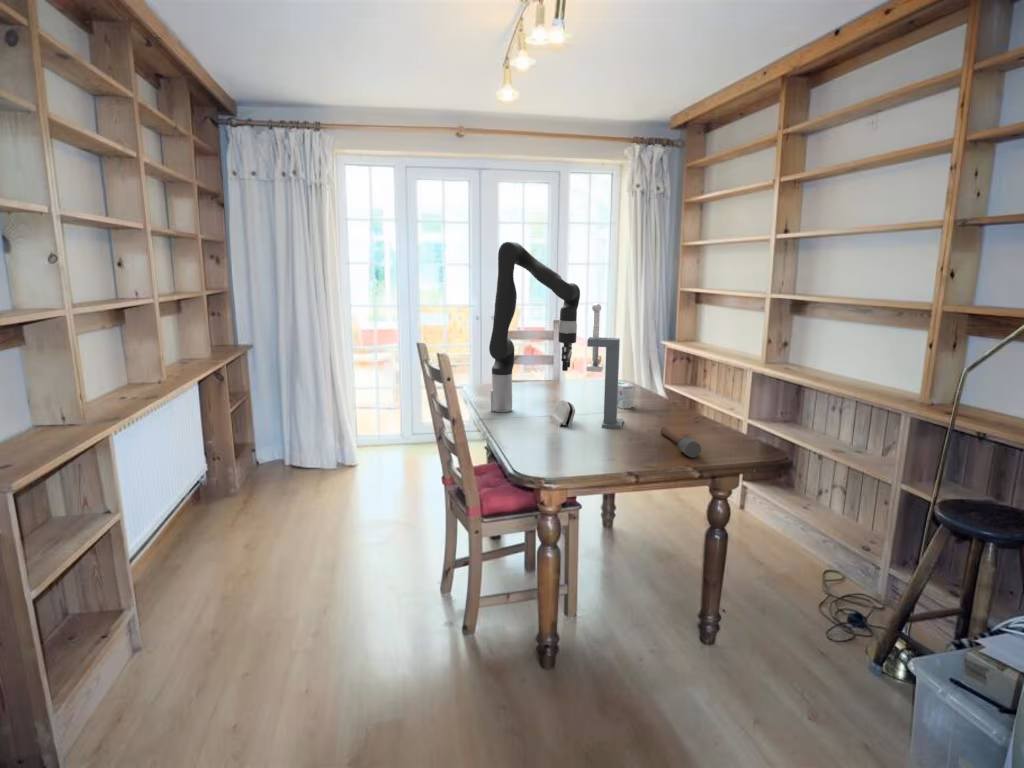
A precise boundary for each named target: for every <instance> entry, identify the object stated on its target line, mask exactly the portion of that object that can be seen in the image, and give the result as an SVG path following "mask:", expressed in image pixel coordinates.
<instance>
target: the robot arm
mask: <svg viewBox="0 0 1024 768" xmlns="http://www.w3.org/2000/svg"><path fill="white" fill-rule="evenodd" d="M515 265H517V266H519V267H521V268H522V269H525V270H526V271H527V272H529V273H530V274H531V275H532V276H533V277H534V278H535V280H537V281H538V282H539V283H541V284H542V285H543V286H545V287H546V288H548V289H550V290H551V291H552V292H553V293H554V294H555V296H556V297H558V298H559V299H560V300H563V305H562V307H561V308H560V310H559V323H558V340H557V341H558V342H559V343H561V344H563V346H562V347H561V358H560V359H561V362H562V367H561V368H562V369H561V370H562V371H563V372H567V371H568V368H570V367H571V359H572V354H573V352H572V351H573V346H572V345H573V344H576V343H577V330H578V329H577V328H578V325H577V320H578V319H577V318H578V317H577V316H578V307H579V303H580V297H581V290H580V287H579V285H577V284H576V283H573V282H571V283H569V282H567V281H565V280H564V279H563V278H562V276H561V275H560V274H558V273H557V272H556V271H554V270H552V269H551V268H550V267H548V266H547V265H545V264H544V263H542V262H541V261H539V260H538V258H535V257H534V256H533V255H532V254H531V253H530V252H528V250H526V248H524V246H523V245H521V244H520V243H518V242H516V241H515V242H514V241H505V242H503V243H502V244H501V245H500V246H499V248H498V253H497V279H496V280H497V281H496V293H495V301H494V313H493V325H492V332H491V336H490V341H489V347H488V349H489V354H490V356H491V357H492V359H494V363H493V365H492V367H491V390H490V412H494V411H495V412H496V413H509V411H510V412H512V411H513V370H514V369H513V368H514V366H515V365H514V364H515V346H514V343H513V341H512V340H511V339H510V338H508V336H509V329H510V326H511V323H512V321H513V318H514V315H515V312H516V306H517V299H518V298H517V297H518V296H517V289H516V284H515V280H514V272H515Z"/></svg>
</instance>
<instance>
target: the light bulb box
mask: <svg viewBox="0 0 1024 768" xmlns="http://www.w3.org/2000/svg"><path fill="white" fill-rule="evenodd" d="M635 386H636V385H634V384H631V383H628V382H624V381H618V399H617V408H619V409H621V408H622V410H624V408H626V409H632V408H631V407H633V408H634V407H635V406H634V405H635Z"/></svg>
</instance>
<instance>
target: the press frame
mask: <svg viewBox="0 0 1024 768" xmlns="http://www.w3.org/2000/svg"><path fill="white" fill-rule="evenodd" d="M620 340H621V339H620V337H600V336H599V339H593V336H589V337H588V338H587V347H589V348H591V347H592V348H593V347H599V348H605V369H604V370H605V372H604V374H605V375H604V376H605V378H604V399H603V400H604V403H603V420H602V423H601V428H602V429H614V428H615V429H617V430H622V428H623V425H624V419H623V418H617V417H618V407H617V399H618V382H619V374H620V373H619V368H620V366H619V364H620V347H621V346H620V344H621V342H620ZM615 429H614V430H615Z"/></svg>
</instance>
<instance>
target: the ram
mask: <svg viewBox="0 0 1024 768" xmlns="http://www.w3.org/2000/svg"><path fill="white" fill-rule="evenodd" d="M592 311H593V320H592V321H593V323H592V325H593V327H592V337H593V339H599V337H600V313H601V311H602V306H601V304H600V303H594V304H593V305H592ZM599 348H600V347H592V353H591V354H592V357H591V358H592V359H591V360H592V361H591V362H589V363H588V364H587V365H586V372H597V373H602V372H603V369H604V363H602V355H599Z"/></svg>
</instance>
